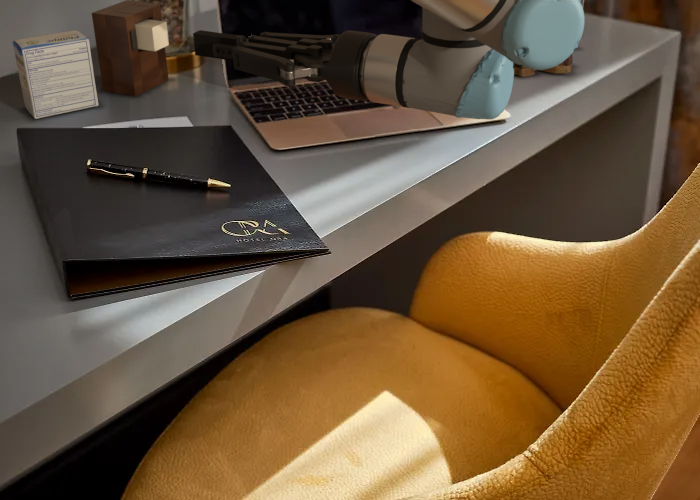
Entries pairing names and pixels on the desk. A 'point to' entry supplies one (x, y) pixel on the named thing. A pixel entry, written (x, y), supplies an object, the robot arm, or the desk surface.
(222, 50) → the robot arm
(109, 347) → the desk surface
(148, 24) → the ivory key
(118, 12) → the key box
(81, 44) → the medicine box
